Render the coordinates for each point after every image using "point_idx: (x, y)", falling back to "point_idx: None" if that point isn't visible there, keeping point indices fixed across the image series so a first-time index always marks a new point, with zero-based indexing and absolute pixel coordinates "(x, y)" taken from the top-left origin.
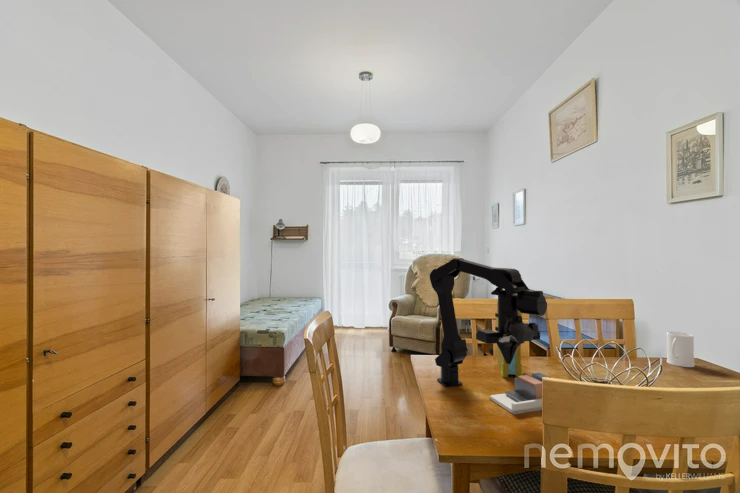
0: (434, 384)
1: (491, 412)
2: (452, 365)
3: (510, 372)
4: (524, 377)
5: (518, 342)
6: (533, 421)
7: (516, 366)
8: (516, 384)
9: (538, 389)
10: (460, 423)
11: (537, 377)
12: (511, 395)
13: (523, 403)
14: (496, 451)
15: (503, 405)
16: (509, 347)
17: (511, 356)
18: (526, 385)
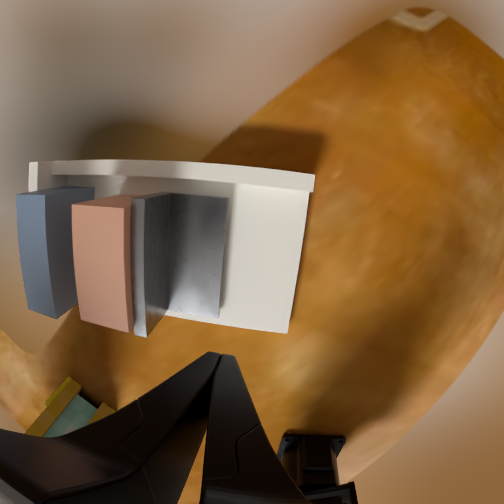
0: (357, 451)
1: (375, 231)
2: (320, 491)
3: (88, 407)
4: (109, 304)
5: (10, 485)
6: (281, 100)
7: (64, 408)
8: (155, 312)
9: (117, 202)
10: (499, 217)
11: (55, 282)
12: (220, 278)
13: (257, 167)
14: (497, 63)
15: (301, 243)
16: (220, 492)
17: (193, 388)
18: (146, 250)
